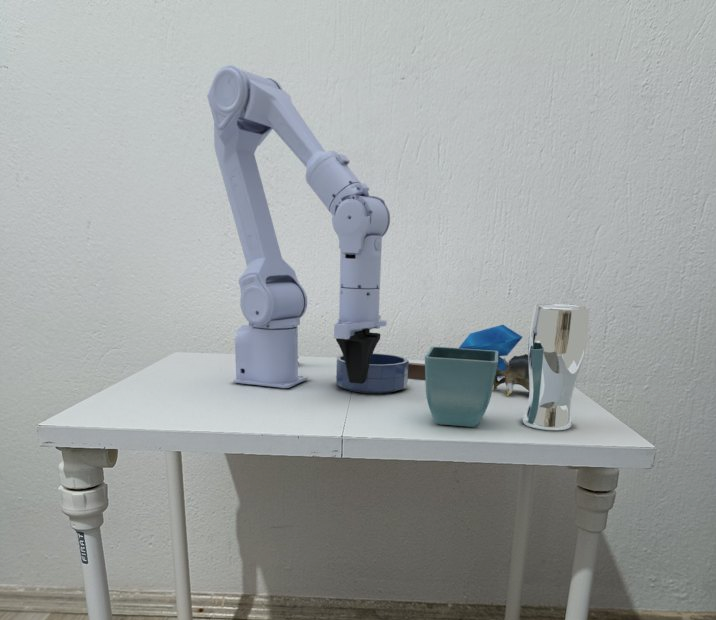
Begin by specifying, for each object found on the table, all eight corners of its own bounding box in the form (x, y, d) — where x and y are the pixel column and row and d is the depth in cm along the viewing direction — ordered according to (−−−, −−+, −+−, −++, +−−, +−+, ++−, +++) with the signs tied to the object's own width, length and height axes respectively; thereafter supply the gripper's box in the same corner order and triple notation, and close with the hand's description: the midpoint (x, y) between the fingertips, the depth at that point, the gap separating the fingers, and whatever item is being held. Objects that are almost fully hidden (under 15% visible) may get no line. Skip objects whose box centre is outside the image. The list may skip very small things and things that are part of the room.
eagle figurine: (477, 387, 102) (533, 385, 96) (485, 345, 103) (541, 341, 98) (496, 407, 107) (550, 406, 102) (504, 367, 109) (557, 364, 104)
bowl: (325, 390, 102) (325, 361, 100) (350, 377, 112) (351, 351, 110) (395, 397, 99) (396, 367, 97) (414, 384, 109) (416, 356, 107)
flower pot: (491, 433, 81) (498, 360, 78) (419, 428, 83) (424, 356, 80) (491, 416, 89) (498, 350, 86) (426, 411, 91) (431, 346, 88)
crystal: (452, 330, 121) (519, 318, 118) (459, 377, 124) (525, 366, 121) (450, 336, 114) (521, 323, 111) (458, 385, 117) (527, 373, 114)
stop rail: (345, 372, 117) (346, 358, 116) (348, 370, 118) (349, 357, 117) (434, 380, 112) (435, 366, 111) (436, 379, 113) (437, 365, 112)
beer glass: (512, 417, 89) (525, 303, 84) (562, 417, 90) (578, 304, 85) (529, 431, 83) (544, 308, 78) (582, 431, 84) (601, 309, 78)
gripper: (370, 292, 86) (366, 394, 91) (401, 286, 99) (396, 376, 104) (320, 289, 88) (319, 389, 93) (356, 284, 101) (354, 372, 106)
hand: (357, 382), depth 98 cm, fingers closed
